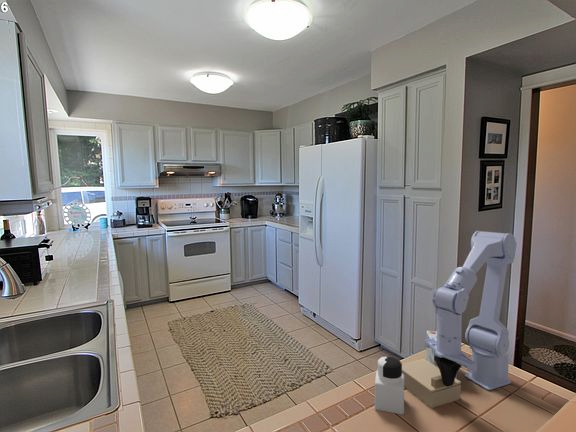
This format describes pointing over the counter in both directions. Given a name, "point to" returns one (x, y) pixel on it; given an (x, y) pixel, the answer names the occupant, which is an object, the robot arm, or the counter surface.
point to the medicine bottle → (389, 386)
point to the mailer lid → (426, 374)
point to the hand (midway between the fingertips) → (448, 384)
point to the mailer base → (433, 393)
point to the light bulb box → (430, 352)
